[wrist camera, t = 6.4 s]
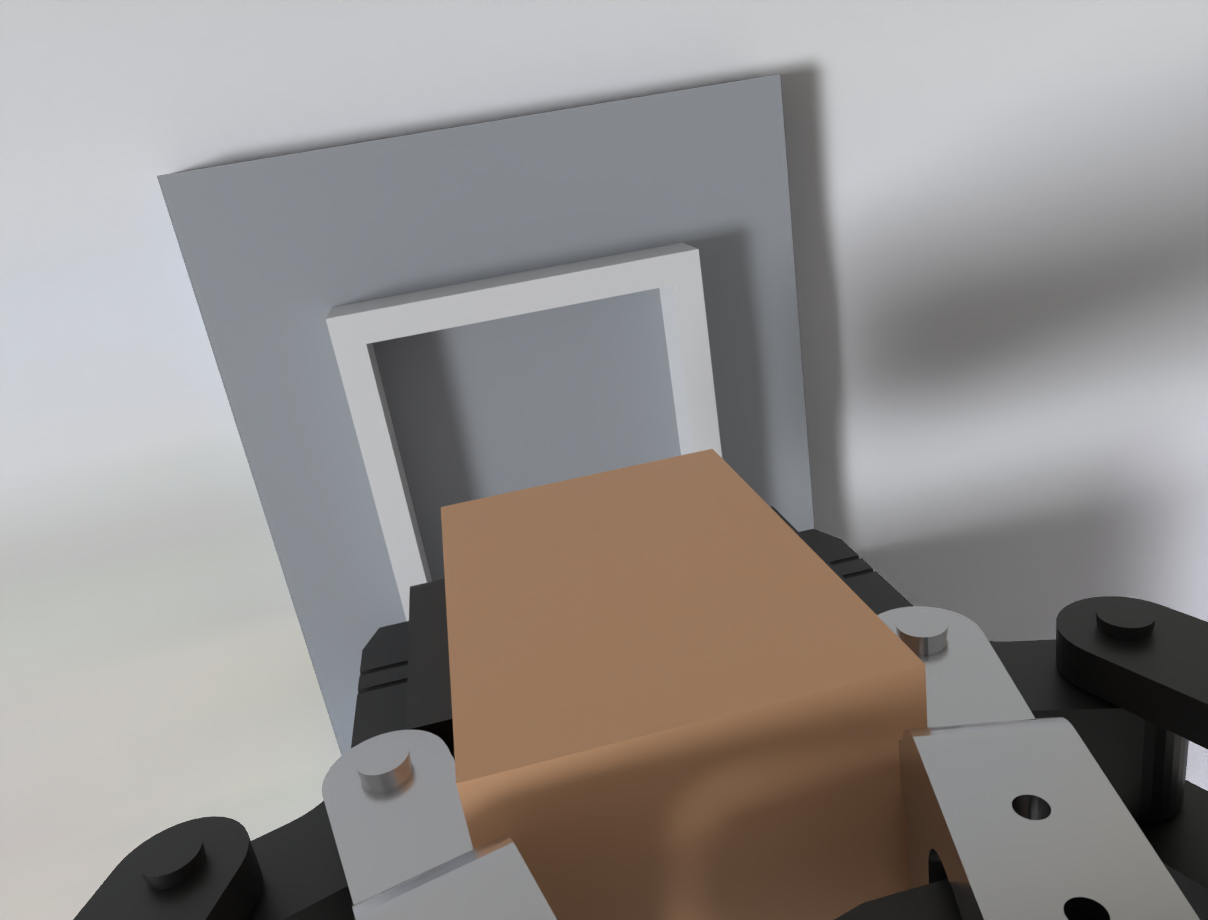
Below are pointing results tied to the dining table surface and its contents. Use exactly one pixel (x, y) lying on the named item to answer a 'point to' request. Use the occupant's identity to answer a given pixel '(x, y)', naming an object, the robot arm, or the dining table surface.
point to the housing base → (494, 329)
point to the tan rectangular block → (674, 700)
